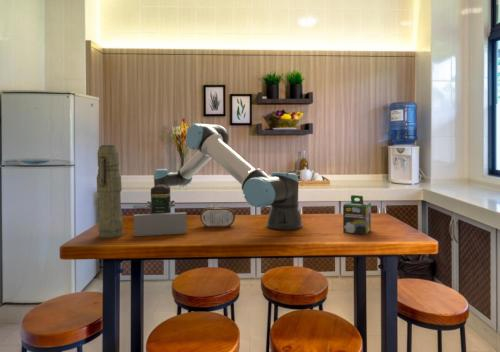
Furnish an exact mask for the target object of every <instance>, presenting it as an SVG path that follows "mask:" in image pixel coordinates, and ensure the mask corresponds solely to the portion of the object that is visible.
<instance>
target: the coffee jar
mask: <svg viewBox="0 0 500 352" xmlns="http://www.w3.org/2000/svg"><path fill="white" fill-rule="evenodd" d="M170 201H171V186H167V185H157V186H155V187H154V186H152V187H151V188H150V202H151V208H150V214H158V213H172V212H171V208H172V207H171V202H170Z"/></svg>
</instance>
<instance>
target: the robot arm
mask: <svg viewBox="0 0 500 352" xmlns="http://www.w3.org/2000/svg"><path fill="white" fill-rule="evenodd" d="M185 141H186V142H185V143H186V145H187V147H188V148H189V149H190V150H194V151H196V150H197V152H195V153H194V155H192V156H191V158H190V159H188V161H186V163H184V164H183V166H182V167H181V168H179V169H178V170H177V171H170V170H169V169H167V168H157V169H154V172H153V185H154V186H153V187H155V186H157V185H167V186H169V187H174V186H186V185H189V184H191V182H192V181H193V177H194V175H196V174H197V172H199V171H200V170H201V169H202V168H203V167H204V166H205V165H206V164H208V162H209V161H211V159H213V160H214V161H215V162H216V163H217V164H218V165H219V166H221V168H222V169H224V170H225V171H226V172H227V173H228V174H230V175H231V177H233V178H234V179H235V181H237V182H238V183H239V184H240V185H241V191H242V194H243V195H244V196H243V198H244V200H245V201H246V202H247V203H248V204H249V205H250V206H252V207H255V208H266V207H269V206H270V211H269V215H268V217H267V220H266V227H267V228H270V229H273V230H282V231H283V230H285V231H286V230H287V231H289V230H291V231H292V230H298V229H301V228H302V227H303V220H302V217H301V214H300V209H299V183H300V182H299V176H298V174H296V173H290V172H279V171H277V172H276V171H275V172H274V171H272V172H271V173H270V175H269V174H268V173H266V172H265V171H264V170H263V169H261V168H255V167H253V166H252V165H251V164H250V163H249V162H247V161H246V160H245V159H244V158H243V157H242V156H240V154H238V153H237V152H236V151H235V150H233V149H232V148H231V147H230V146H229V145H228V144H229V142H230V135H229V132H228V131H227V129H226V128H225V127H224V126H222V125H220V124H213V123H212V124H211V123H210V124H209V123H200V122H199V123H192V124H191V125H190V126H188V128H187V130H186V133H185ZM170 202H171V208H173V207H175V206H176V205H175V200H170ZM146 203H147V205H146V206H147V208H150V209H151V201H147V202H146Z"/></svg>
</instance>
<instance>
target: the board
mask: <svg viewBox="0 0 500 352" xmlns="http://www.w3.org/2000/svg"><path fill="white" fill-rule="evenodd" d="M187 215H188V214H187V212H186V211H184V212H183V211H182V212H181V211H180V212H171V213H158V214H151V213H142V214H139V213H138V214H133V236H134V237H143V236H144V237H146V236H147V237H148V236H163V235H164V234H165V235H179V234H181V235H182V234H187V233H188V229H187V228H188V224H187V223H188V221H187V220H188V219H187Z"/></svg>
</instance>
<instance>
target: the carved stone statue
mask: <svg viewBox="0 0 500 352" xmlns="http://www.w3.org/2000/svg"><path fill="white" fill-rule="evenodd" d="M96 155H97V156H96V157H97V167H98V170H97V176H96V191H97V193H98V209H99V210H98V215H99V216H98V219H97V226H98V227H97V228H98V233H99V234H98V237H99V238H100V239H115V238H120V237H122V236H123V235H124V233H123V230H124V220H123V219H124V217H123V215H122V201H121V200H122V199H121V198H122V197H121V193H122V176H121V172H120V168H119V166H120V155H119V150H118V148H117V146H115V145H113V144H112V145H109V144H107V145H106V144H103V145H102V144H101V146H99V147H98V150H97V154H96Z"/></svg>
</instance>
